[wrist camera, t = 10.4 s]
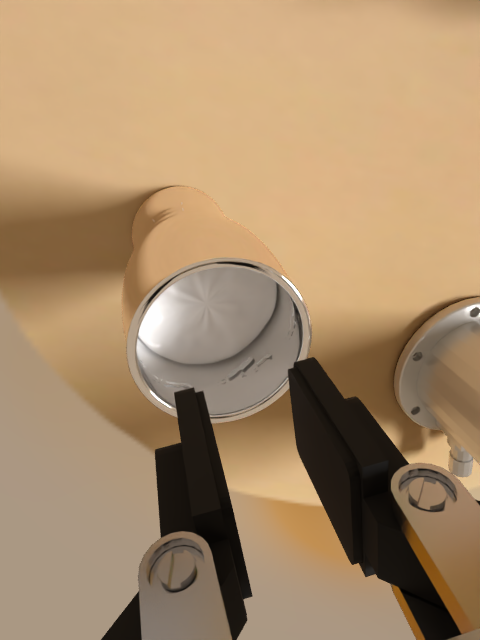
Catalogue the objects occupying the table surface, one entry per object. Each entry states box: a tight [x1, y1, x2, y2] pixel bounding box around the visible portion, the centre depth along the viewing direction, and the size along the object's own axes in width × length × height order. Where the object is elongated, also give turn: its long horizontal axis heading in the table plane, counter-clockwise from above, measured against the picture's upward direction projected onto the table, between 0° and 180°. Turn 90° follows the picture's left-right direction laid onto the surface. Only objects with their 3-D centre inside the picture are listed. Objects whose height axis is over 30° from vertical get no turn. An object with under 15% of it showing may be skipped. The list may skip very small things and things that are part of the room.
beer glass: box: [121, 186, 312, 423], centre depth 22 cm, size 7×7×15 cm
